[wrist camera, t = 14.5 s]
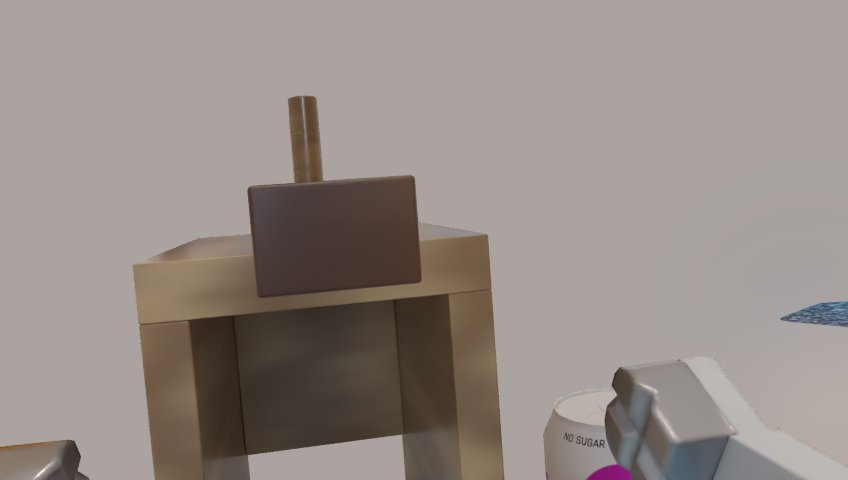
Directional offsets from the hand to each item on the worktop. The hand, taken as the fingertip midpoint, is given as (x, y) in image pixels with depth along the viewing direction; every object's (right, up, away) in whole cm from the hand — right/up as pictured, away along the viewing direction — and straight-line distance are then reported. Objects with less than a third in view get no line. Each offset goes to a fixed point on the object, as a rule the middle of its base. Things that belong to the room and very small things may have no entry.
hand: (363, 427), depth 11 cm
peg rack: (-3, +3, +16) cm, 16 cm away
